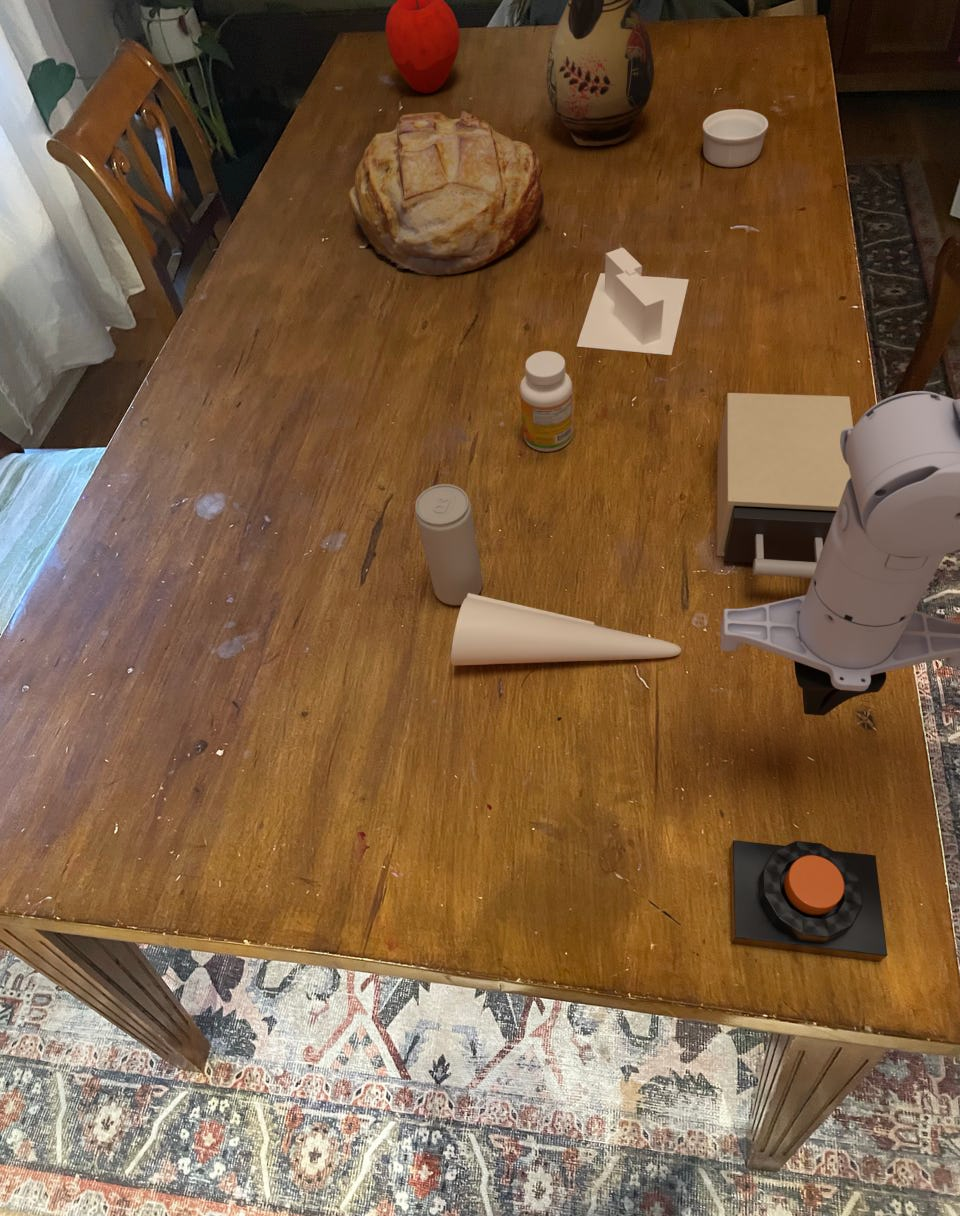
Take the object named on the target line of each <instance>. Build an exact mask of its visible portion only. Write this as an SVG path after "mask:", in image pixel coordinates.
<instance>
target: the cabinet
mask: <svg viewBox="0 0 960 1216" xmlns="http://www.w3.org/2000/svg"><path fill="white" fill-rule="evenodd" d="M850 398H851V397H850V396H846V395H844V396H842V395H817V394H816V395H814V394H812V395H811V394H782V393H781V394H780V393H746V392H743V393H742V392H727V393H726V399H725V406H724V411H723V416H722V422H721V428H720V434H719V438H718V446H717V454H716V457H717V461H716V462H717V463H716V464H717V467H716V470H717V471H716V473H717V474H716V476H717V477H716V481H717V482H716V556H717V557H724V551H725V546H726V541H727V537H728V532H729V527H730V521H731V517H732V512H733V507H734V506H751V507H770V508H789V509H809V510H828V511H837V509H838V506H839V503H840V501H841V498H842V495H843V492H844V490H845V487H846V484H847V482H848V480H849V479H850V478H851V475H850V471H849V467H848V465H847V463H846V462H845V460H844V458H843V455H842V452H841V447H840V436H841V432H842V431H843V430H844V429H846V428H852V427H854V422H853V416H852V415H853V414H852V406H851V399H850Z"/></svg>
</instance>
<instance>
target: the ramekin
mask: <svg viewBox="0 0 960 1216" xmlns="http://www.w3.org/2000/svg"><path fill="white" fill-rule="evenodd" d="M768 128H769V120H768V119H767V117H766V116H764V115H763V114H762V113H759V112H758V111H757V112H756V111H754V110H750V109H741V108H732V109H724V110H720V111H716V112H714V113H712V114H710V115H709V116H707V117H706V118H705V119H704V121H703V122H702V132H703V142H702V143H703V148H702V149H703V150H702V151H703V156H704V159H705V160H706V161H707V162H708V163H710V164H712V165H715V166H717V167H723V168H738V167H743V166H747V165H749V164H751V163H753V162H754V161H756V160H757V159H758V158H759V156H760V154H761V151H762V148H763V146H764V145H763V144H764V140H765V135H766V133H767V131H768Z"/></svg>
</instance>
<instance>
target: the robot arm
mask: <svg viewBox="0 0 960 1216" xmlns="http://www.w3.org/2000/svg"><path fill="white" fill-rule="evenodd" d="M840 447H841V452H842V455H843V458H844V460H845V462H846V463H847V465H848V467H849V471H850V475H851V478H850V479H849V480H848V482H847V484H846V487H845V490H844V492H843V495H842V498H841V501H840V503H839V506H838V509H837V512H836V514H835V516H834V518H833V521H832V524H831V527H830V529H829V532H828V535H827V538H826V541H825V543H824V546H823V549H822V552H821V554H820V557H819V560H818V563H817V566H816V568H815V572H814V574H813V577H812V578H811V580H810V583H809V586H808V589H807V592H806V593H805V594H804V595H801V596H795V597H791V598H786V599H782V600H778V601H774V602H769V603H764V604H760V605H755V606H750V607H743V608H723V612H722V617H721V620H720V625H719V638H720V639H719V640H720V642H719V643H720V644H719V645H720V646H719V647H720V651H725V652H737V651H738V650H739V647H740V645H741V644H743V645H744V644H745V645H748V646H752V647H755V648H758V649H760V650H762V651H766V652H769V653H772V654H775V655H777V656H780V657H782V658H785V659H788V660H791V661H793V663H794V674H795V679H796V683H797V684H798V687H800V688H801V691H802V705H803V713H804V714H805V715H810V716H820V717H821V716H822V717H824V716H825V715H827V714H829V713H830V712H831V711H833V710H834V709H835V708H837V707H838V706H840V705H841V704H843V703H845V702H846V701H848V700H851V699H853V698H856V697H859V696H862V695H866V694H872V693H879V692H880V691H881V690H882V688H883V687H884V685H885V683H886V680H887V672H891V671H894V670H899V669H904V668H908V667H913V666H916V665H920V664H925V663H929V662H934V661H937V660H938V661H939V660H943V659H945V662H946V664H947V666H949V667H953V668H960V622H957V621H951V620H948V619H943V618H940V617H936V616H934V615H930V614H927V613H923V612H921V611H918V610H916V609H917V608H918V606H919V604H920V601H921V600H922V598H923V596H924V594H925V592H926V591H927V589H928V587H929V585H930V584H931V582H932V580H933V578H934V576H935V574H936V572H937V570H938V568H939V567H940V565H941V563H942V561H943V560H944V558H945V556H946V555H947V554H950V553H953V552H956V551H959V550H960V398H956V399H955V398H952V397H949V396H946V395H941V394H939V393H936V392H932V391H927V390H920V391H919V390H917V391H906V392H901V393H897V394H895V395H891V396H889V397H886V398H885V399H882V400H880V401H879V402H877V403H875V404H873V406H871V407H870V408H869V409H867V410H866V411H865V412H864V414H862V415H861V417H860V418H859V419H858V420H857V422H856V424H855V425H853V427H852V428H846V429H844V430H843V431H842V432H841V436H840Z"/></svg>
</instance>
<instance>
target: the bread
mask: <svg viewBox="0 0 960 1216" xmlns="http://www.w3.org/2000/svg"><path fill="white" fill-rule="evenodd" d="M543 170H544V166H543V163H542V161H541V160H540V157H539V156H538V154H537V153H536V151H535V150H534V149H533V148H532V147H531V146H530V145H529V144H527V142H523V141H520V140H512V139H511V138H510V137H509V136H506V135H504V134H502V133H499V132H497V131H496V130H495V129H494V128H493V125H492V123H491V121H489V120H486V119H482V118H480V117H479V116H478V115H476V114H475V113H472V112H471V111H469V110H467V109H463V108H462V109H461V110H460V113H459V118H454V119H452V118H449V117H448V116H446V115H445V114H444V113H442V112H440V111H439V112H438V111H431V112H421V113H420V112H419V113H407V114H402V115H401V116H400V118H399V119H398V121H397V123H396V125H395V128H394V129H393V130H391V131H389V132H381V133H375V135H374V136H373V137H372V139H371V141H370V143H369V144H368V146H367V147H366V148H365V149H364V154H363V156H362V158H361V159H360V162H359V163H358V165H357V168H356V169H355V172H354V186H352V187H351V189H350V190H349V193H348V198H349V207H350V210H351V213H352V214H353V216H354V218H355V221H356V222H357V229H358V230H359V232H360V234H361V236H362V237H363V241H364V245H359V249H367V247H368V245H371V246H372V247H373V249H374V251H375V253H377V254H378V255H380V256H382V257H384V258H385V260H390V262H391V263H395V264H396V268H397V269H401V270H406V269H409V270H410V271H412V272H413V273H414V274H421V275H428V276H444V275H457V274H461V273H465V272H469V271H474V270H477V269H480V268H482V267H484V266H486V265H488V264H490V263H492V262H494V261H495V260H497V259H498V258H501V257H502V256H503V255H505V254H506V253H508V252H509V251H511V250H513V249H514V248H515V247H516V246H517V245H518V244H519V243H520V242H522V240H523V239H525V238H526V237H527V236H528V234H530V233H531V231H532V230H533V229H534V227H535V225H536V224H537V222H538V221H539V219H540V217H541V214H542V212H543V208H544V202H545V201H544V199H545V197H544V190H543V186H542V181H541V175H542V173H543Z"/></svg>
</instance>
